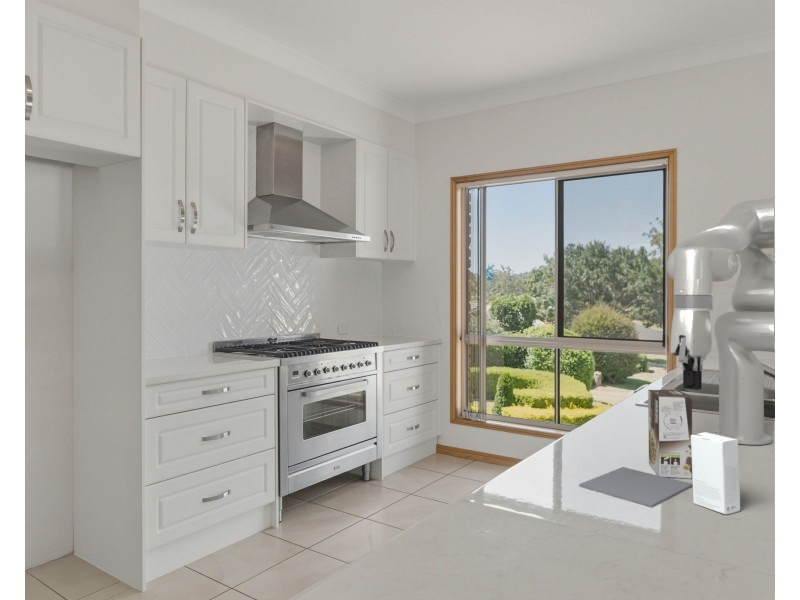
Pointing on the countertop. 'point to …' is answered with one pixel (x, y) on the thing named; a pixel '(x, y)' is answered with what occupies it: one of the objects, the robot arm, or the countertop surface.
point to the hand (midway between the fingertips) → (692, 388)
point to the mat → (636, 486)
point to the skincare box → (715, 472)
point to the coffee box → (670, 433)
